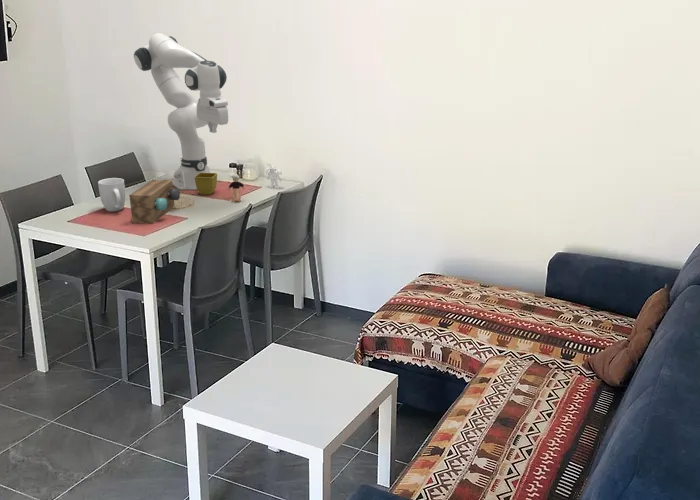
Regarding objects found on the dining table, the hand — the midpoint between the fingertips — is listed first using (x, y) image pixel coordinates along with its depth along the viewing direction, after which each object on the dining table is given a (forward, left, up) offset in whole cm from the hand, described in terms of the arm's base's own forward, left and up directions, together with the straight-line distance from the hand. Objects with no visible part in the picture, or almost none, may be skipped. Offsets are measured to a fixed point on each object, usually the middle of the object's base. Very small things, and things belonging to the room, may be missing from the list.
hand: (213, 132), depth 328 cm
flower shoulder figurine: (-7, +36, -33) cm, 50 cm away
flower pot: (-21, +7, -33) cm, 40 cm away
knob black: (-10, -19, -29) cm, 36 cm away
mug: (-26, -37, -33) cm, 56 cm away
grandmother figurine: (0, +10, -33) cm, 35 cm away
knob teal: (0, -30, -29) cm, 42 cm away
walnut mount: (-8, -27, -33) cm, 43 cm away
